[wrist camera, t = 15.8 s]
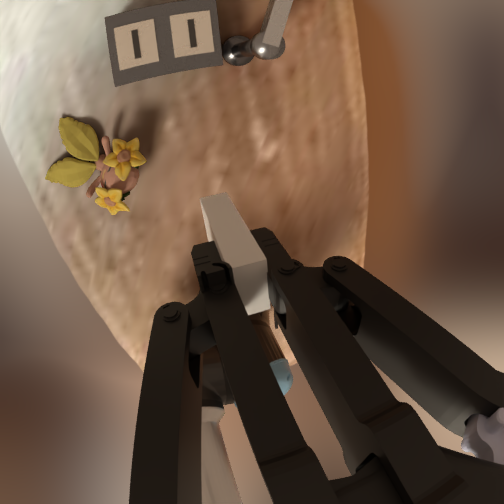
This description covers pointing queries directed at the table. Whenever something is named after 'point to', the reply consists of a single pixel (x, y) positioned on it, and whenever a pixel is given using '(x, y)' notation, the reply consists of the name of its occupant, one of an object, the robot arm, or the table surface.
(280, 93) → the table surface
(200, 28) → the block
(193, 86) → the table surface
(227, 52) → the post
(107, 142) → the figurine
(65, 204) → the table surface
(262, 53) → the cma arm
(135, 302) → the table surface
